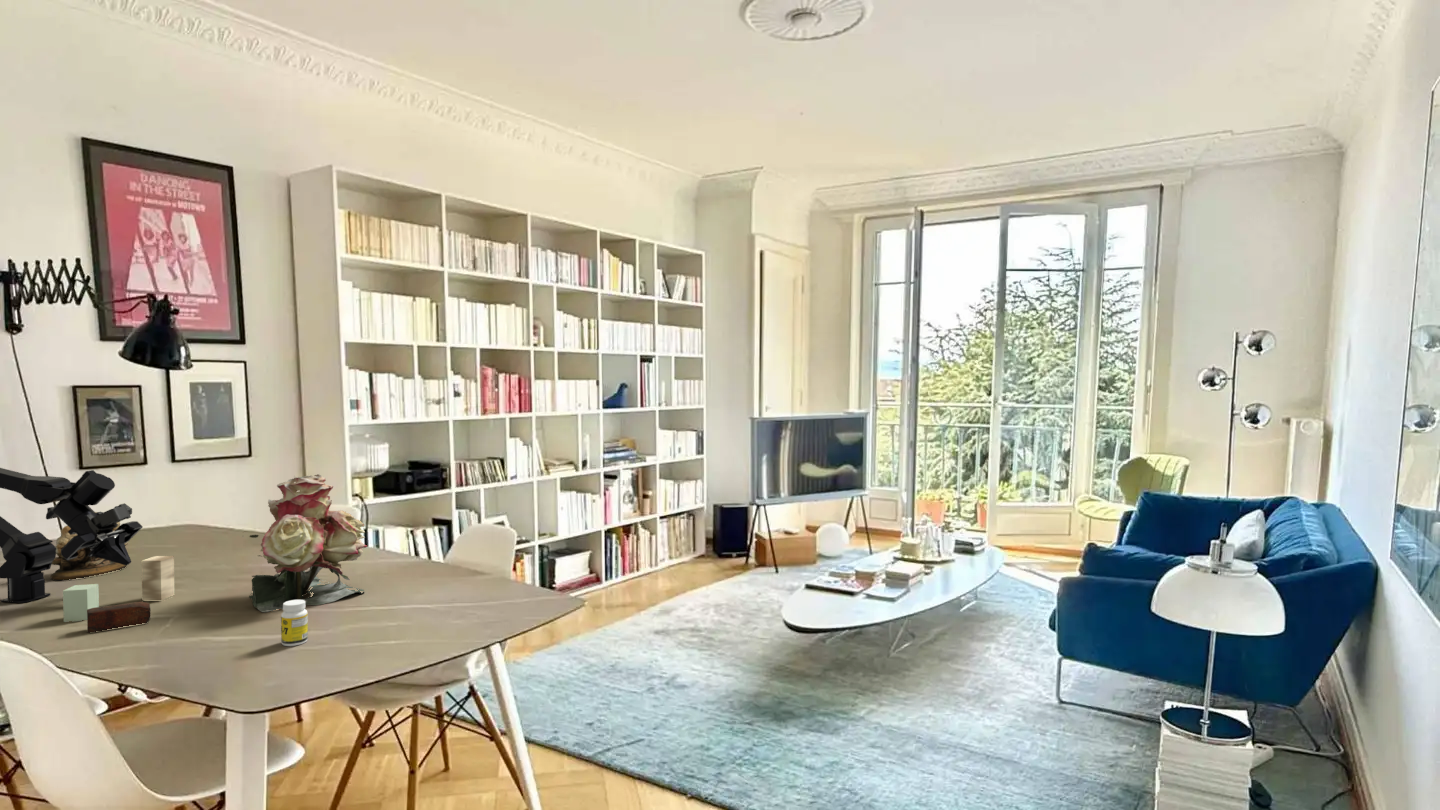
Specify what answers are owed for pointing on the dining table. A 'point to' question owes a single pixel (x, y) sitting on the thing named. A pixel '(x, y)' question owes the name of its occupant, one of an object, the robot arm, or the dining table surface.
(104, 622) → the brick
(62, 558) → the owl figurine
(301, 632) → the supplement bottle
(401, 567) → the dining table surface
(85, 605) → the sage block
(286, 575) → the rose bouquet
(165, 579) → the maple block
